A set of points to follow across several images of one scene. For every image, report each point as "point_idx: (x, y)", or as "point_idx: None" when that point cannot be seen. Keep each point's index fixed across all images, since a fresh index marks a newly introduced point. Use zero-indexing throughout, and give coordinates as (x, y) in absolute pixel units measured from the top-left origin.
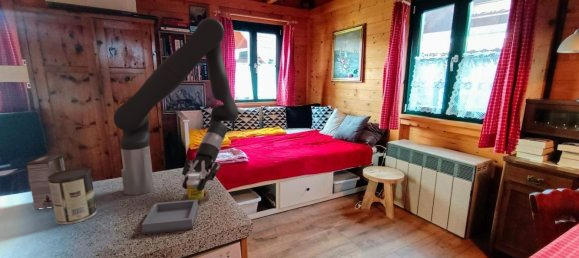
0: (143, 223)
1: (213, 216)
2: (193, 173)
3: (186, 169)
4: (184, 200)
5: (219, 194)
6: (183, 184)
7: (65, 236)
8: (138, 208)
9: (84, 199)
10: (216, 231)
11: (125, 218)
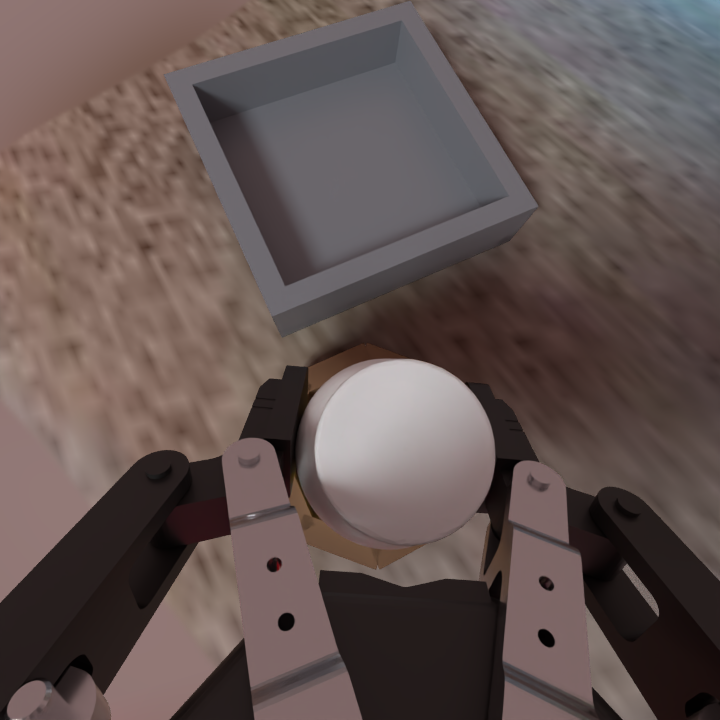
0: (410, 10)
1: (126, 258)
2: (431, 471)
3: (649, 583)
4: (410, 358)
5: (225, 594)
6: (487, 393)
7: (701, 11)
8: (643, 258)
9: None
10: (47, 128)
11: (607, 157)
